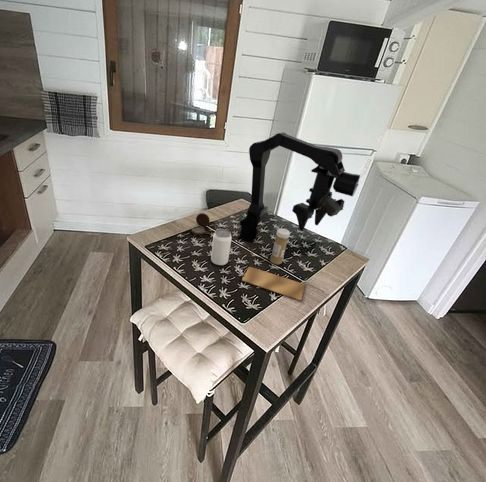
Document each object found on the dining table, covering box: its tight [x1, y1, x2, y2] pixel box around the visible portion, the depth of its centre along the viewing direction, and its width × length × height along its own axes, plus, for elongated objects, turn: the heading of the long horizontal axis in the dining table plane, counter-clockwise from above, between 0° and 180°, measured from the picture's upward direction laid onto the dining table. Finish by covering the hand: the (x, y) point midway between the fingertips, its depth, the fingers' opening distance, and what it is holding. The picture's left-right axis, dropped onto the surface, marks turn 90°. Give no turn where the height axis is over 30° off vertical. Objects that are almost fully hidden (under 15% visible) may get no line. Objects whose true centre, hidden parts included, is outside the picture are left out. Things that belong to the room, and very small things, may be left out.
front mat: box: [241, 266, 306, 302], centre depth 96 cm, size 20×9×1 cm, turn 67°
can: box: [210, 228, 233, 266], centre depth 101 cm, size 6×6×12 cm
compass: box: [190, 212, 210, 236], centre depth 119 cm, size 8×8×7 cm
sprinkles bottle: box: [269, 227, 291, 265], centre depth 104 cm, size 5×5×13 cm
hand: (308, 227), depth 103 cm, fingers open, 9 cm apart
